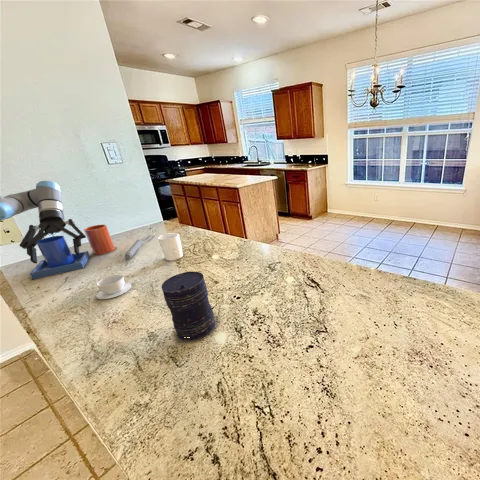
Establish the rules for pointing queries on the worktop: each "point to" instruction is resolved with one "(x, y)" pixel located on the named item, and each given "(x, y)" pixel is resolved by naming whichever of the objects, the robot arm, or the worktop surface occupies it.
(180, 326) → the storage jar
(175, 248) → the white cup
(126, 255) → the kitchen whisk
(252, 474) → the worktop surface
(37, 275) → the blue tray
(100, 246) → the red cup
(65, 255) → the blue cup
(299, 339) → the worktop surface
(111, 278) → the teacup
